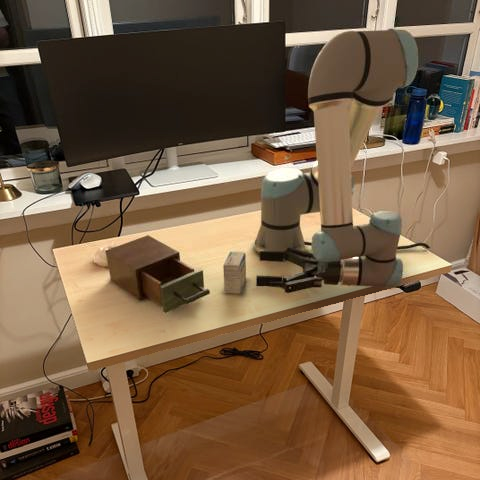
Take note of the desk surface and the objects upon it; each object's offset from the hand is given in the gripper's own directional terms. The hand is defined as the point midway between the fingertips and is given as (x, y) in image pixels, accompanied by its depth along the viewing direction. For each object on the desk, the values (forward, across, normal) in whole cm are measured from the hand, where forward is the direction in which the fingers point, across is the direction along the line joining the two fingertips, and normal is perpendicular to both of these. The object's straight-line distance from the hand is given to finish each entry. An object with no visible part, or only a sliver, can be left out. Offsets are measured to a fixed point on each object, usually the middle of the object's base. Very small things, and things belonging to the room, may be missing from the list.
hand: (257, 267), depth 129 cm
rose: (+45, +13, -6) cm, 47 cm away
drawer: (+21, -8, -5) cm, 23 cm away
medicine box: (+6, 0, -6) cm, 9 cm away
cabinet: (+31, +1, -6) cm, 32 cm away
